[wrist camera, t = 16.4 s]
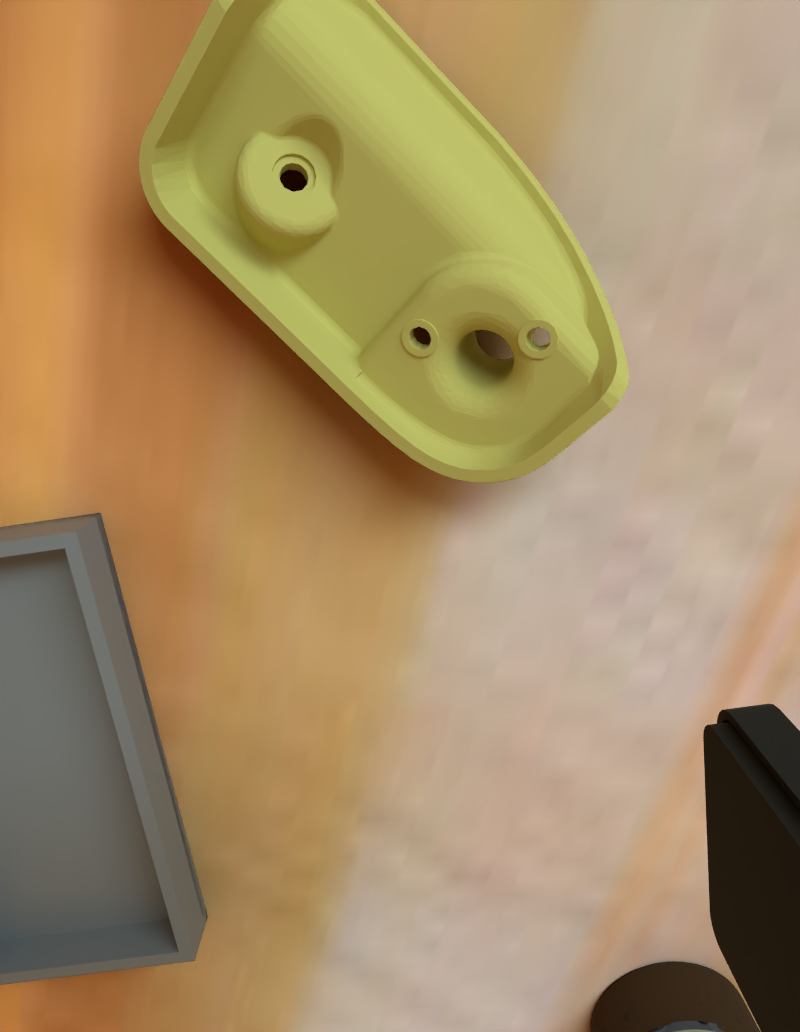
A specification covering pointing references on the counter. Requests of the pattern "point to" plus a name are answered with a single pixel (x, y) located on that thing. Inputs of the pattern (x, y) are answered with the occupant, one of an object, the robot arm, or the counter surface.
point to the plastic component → (383, 233)
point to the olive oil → (672, 1002)
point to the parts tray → (82, 772)
